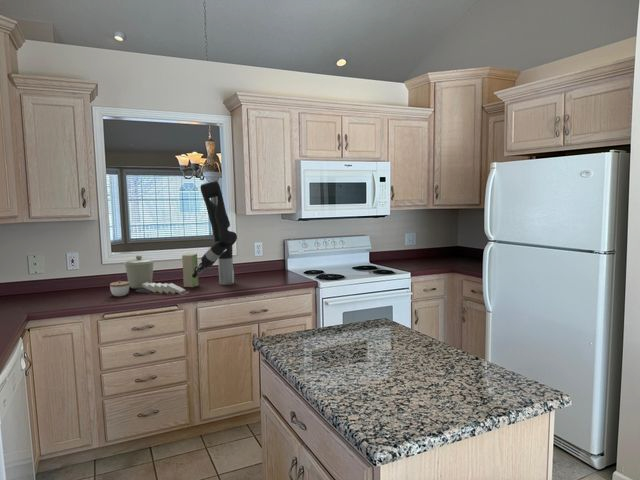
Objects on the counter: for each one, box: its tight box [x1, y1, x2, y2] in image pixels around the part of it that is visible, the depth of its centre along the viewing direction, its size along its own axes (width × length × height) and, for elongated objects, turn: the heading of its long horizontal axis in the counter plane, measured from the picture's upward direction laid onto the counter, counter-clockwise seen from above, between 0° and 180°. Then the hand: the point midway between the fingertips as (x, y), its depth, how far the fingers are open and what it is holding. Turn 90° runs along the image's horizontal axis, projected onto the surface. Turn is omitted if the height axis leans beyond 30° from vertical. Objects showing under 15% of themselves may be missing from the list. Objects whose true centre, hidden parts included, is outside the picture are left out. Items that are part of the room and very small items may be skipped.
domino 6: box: [166, 283, 186, 294], centre depth 270 cm, size 2×5×10 cm
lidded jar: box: [109, 279, 130, 297], centre depth 268 cm, size 11×11×9 cm
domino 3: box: [148, 282, 164, 293], centre depth 274 cm, size 2×5×10 cm
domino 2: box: [142, 282, 158, 293], centre depth 275 cm, size 2×5×10 cm
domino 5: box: [160, 282, 177, 294], centre depth 272 cm, size 2×5×10 cm
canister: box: [123, 254, 155, 290], centre depth 290 cm, size 18×18×21 cm
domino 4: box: [154, 282, 171, 293], centre depth 273 cm, size 2×5×10 cm
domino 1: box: [135, 288, 152, 294], centre depth 276 cm, size 2×5×10 cm
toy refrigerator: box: [181, 253, 199, 288], centre depth 290 cm, size 8×7×21 cm
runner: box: [147, 290, 190, 296], centre depth 272 cm, size 24×9×1 cm, turn 75°
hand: (193, 276), depth 266 cm, fingers closed
